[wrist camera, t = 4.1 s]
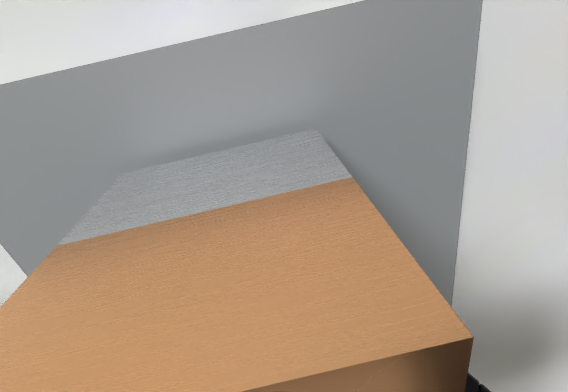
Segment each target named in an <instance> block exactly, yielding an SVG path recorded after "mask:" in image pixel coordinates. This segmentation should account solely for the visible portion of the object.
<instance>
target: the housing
mask: <svg viewBox="0 0 568 392" xmlns="http://www.w3.org/2000/svg"><path fill="white" fill-rule="evenodd" d="M472 343H473V336H472V334H471V333H470V332H469V330H468V329H467V328H466V326H465V325H464V324H463V322H462V321H461V320H460V318H459V317H458V316H457V315H456V313H455V312H454V311H453V309H452V308H451V307H450V305H449V304H448V303H447V301H446V300H445V299H444V297H443V296H442V295H441V293H440V292H439V291H438V289H437V288H436V287H435V285H434V284H433V283H432V282H431V280H430V279H429V278H428V276H427V275H426V274H425V272H424V271H423V270H422V268H421V267H420V266H419V264H418V263H417V262H416V260H415V259H414V258H413V256H412V255H411V254H410V253H409V251H408V250H407V249H406V247H405V246H404V245H403V243H402V242H401V241H400V239H399V238H398V237H397V235H396V234H395V233H394V231H393V230H392V229H391V227H390V226H389V225H388V223H387V222H386V221H385V220H384V218H383V217H382V216H381V214H380V213H379V212H378V210H377V209H376V208H375V206H374V205H373V204H372V202H371V201H370V200H369V198H368V197H367V196H366V194H365V193H364V192H363V190H362V189H361V188H360V187H359V185H358V184H357V183H356V181H355V180H354V179H353V177H352V176H351V175H350V173H349V172H348V171H347V169H346V168H345V167H344V165H343V164H342V163H341V161H340V160H339V159H338V157H337V156H336V155H335V154H334V152H333V151H332V150H331V148H330V147H329V146H328V144H327V143H326V142H325V140H324V139H323V138H322V136H321V135H320V134H319V132H318V131H317V130H316V128H315V129H310V130H306V131H302V132H298V133H293V134H289V135H285V136H280V137H276V138H272V139H267V140H263V141H259V142H254V143H250V144H246V145H242V146H237V147H233V148H229V149H224V150H220V151H216V152H211V153H207V154H203V155H199V156H194V157H190V158H186V159H181V160H177V161H173V162H168V163H164V164H160V165H156V166H151V167H147V168H143V169H138V170H134V171H130V172H125V173H122V174H121V175H120V176H119V178H118V179H117V180H116V181H115V182H114V183H113V184H112V185H111V186H110V187H109V189H108V190H107V191H106V192H105V193H104V194H103V195H102V196H101V197H100V198H99V200H98V201H97V202H96V203H95V204H94V205H93V206H92V207H91V208H90V209H89V211H88V212H87V213H86V214H85V215H84V216H83V217H82V218H81V219H80V220H79V222H78V223H77V224H76V225H75V226H74V227H73V228H72V229H71V230H70V231H69V233H68V234H67V235H66V236H65V237H64V238H63V239H62V240H61V241H60V242H59V244H58V245H57V246H56V247H55V248H54V249H53V250H52V251H51V252H50V253H49V255H48V256H47V257H46V258H45V259H44V260H43V261H42V262H41V263H40V264H39V266H38V267H37V268H36V269H35V270H34V271H33V272H32V273H31V274H30V275H29V277H28V278H27V279H26V280H25V281H24V282H23V283H22V284H21V285H20V286H19V288H18V289H17V290H16V291H15V292H14V293H13V294H12V295H11V296H10V297H9V299H8V300H7V301H6V302H5V303H4V304H3V305H2V306H1V307H0V392H465V386H466V380H467V374H468V367H469V361H470V355H471V349H472Z"/></svg>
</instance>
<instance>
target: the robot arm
mask: <svg viewBox="0 0 568 392" xmlns="http://www.w3.org/2000/svg"><path fill="white" fill-rule="evenodd" d="M465 392H491V391H490V390H488V389H487V388H486V387H485V386H484V385H482V384H480V385H479V382H478V380H476V379H475V378H474V377H473V376H472V375H471V374H469V373H468V374H467V380H466V386H465Z"/></svg>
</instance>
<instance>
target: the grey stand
mask: <svg viewBox="0 0 568 392" xmlns="http://www.w3.org/2000/svg"><path fill="white" fill-rule="evenodd" d="M482 1H483V0H364V1H360V2H356V3H351V4H347V5H343V6H338V7H334V8H330V9H326V10H321V11H317V12H313V13H308V14H304V15H300V16H295V17H291V18H287V19H282V20H278V21H274V22H269V23H265V24H261V25H256V26H252V27H248V28H243V29H239V30H235V31H230V32H226V33H222V34H217V35H213V36H209V37H204V38H200V39H196V40H191V41H187V42H183V43H179V44H174V45H170V46H166V47H161V48H157V49H153V50H148V51H144V52H140V53H135V54H131V55H127V56H122V57H118V58H114V59H109V60H105V61H101V62H96V63H92V64H88V65H83V66H79V67H75V68H70V69H66V70H62V71H57V72H53V73H49V74H44V75H40V76H36V77H32V78H27V79H23V80H19V81H14V82H10V83H6V84H1V85H0V244H1V245H2V246H3V247H4V249H5V250H6V251H7V252H8V253H9V255H10V256H11V257H12V258H13V259H14V261H15V262H16V263H17V264H18V265H19V267H20V268H21V269H22V270H23V271H24V273H25V274H26V275H27V276H28V277H29V275H30V274H31V273H32V272H33V271H34V270H35V269H36V268H37V267H38V266H39V264H40V263H41V262H42V261H43V260H44V259H45V258H46V257H47V256H48V255H49V253H50V252H51V251H52V250H53V249H54V248H55V247H56V246H57V245H58V244H59V242H60V241H61V240H62V239H63V238H64V237H65V236H66V235H67V234H68V233H69V231H70V230H71V229H72V228H73V227H74V226H75V225H76V224H77V223H78V222H79V220H80V219H81V218H82V217H83V216H84V215H85V214H86V213H87V212H88V211H89V209H90V208H91V207H92V206H93V205H94V204H95V203H96V202H97V201H98V200H99V198H100V197H101V196H102V195H103V194H104V193H105V192H106V191H107V190H108V189H109V187H110V186H111V185H112V184H113V183H114V182H115V181H116V180H117V179H118V178H119V176H120V175H121V174H122V173H125V172H130V171H134V170H138V169H143V168H147V167H151V166H156V165H160V164H164V163H168V162H173V161H177V160H181V159H186V158H190V157H194V156H199V155H203V154H207V153H211V152H216V151H220V150H224V149H229V148H233V147H237V146H242V145H246V144H250V143H254V142H259V141H263V140H267V139H272V138H276V137H280V136H285V135H289V134H293V133H298V132H302V131H306V130H310V129H315V128H316V130H317V131H318V132H319V134H320V135H321V136H322V138H323V139H324V140H325V142H326V143H327V144H328V146H329V147H330V148H331V150H332V151H333V152H334V154H335V155H336V156H337V157H338V159H339V160H340V161H341V163H342V164H343V165H344V167H345V168H346V169H347V171H348V172H349V173H350V175H351V176H352V177H353V179H354V180H355V181H356V183H357V184H358V185H359V187H360V188H361V189H362V190H363V192H364V193H365V194H366V196H367V197H368V198H369V200H370V201H371V202H372V204H373V205H374V206H375V208H376V209H377V210H378V212H379V213H380V214H381V216H382V217H383V218H384V220H385V221H386V222H387V223H388V225H389V226H390V227H391V229H392V230H393V231H394V233H395V234H396V235H397V237H398V238H399V239H400V241H401V242H402V243H403V245H404V246H405V247H406V249H407V250H408V251H409V253H410V254H411V255H412V256H413V258H414V259H415V260H416V262H417V263H418V264H419V266H420V267H421V268H422V270H423V271H424V272H425V274H426V275H427V276H428V278H429V279H430V280H431V282H432V283H433V284H434V285H435V287H436V288H437V289H438V291H439V292H440V293H441V295H442V296H443V297H444V299H445V300H446V301H447V303H448V304H449V305H450V307H451V305H452V295H453V285H454V275H455V265H456V256H457V246H458V236H459V226H460V216H461V207H462V197H463V187H464V177H465V167H466V158H467V148H468V138H469V128H470V118H471V109H472V99H473V89H474V79H475V69H476V60H477V50H478V40H479V30H480V21H481V11H482Z"/></svg>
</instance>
